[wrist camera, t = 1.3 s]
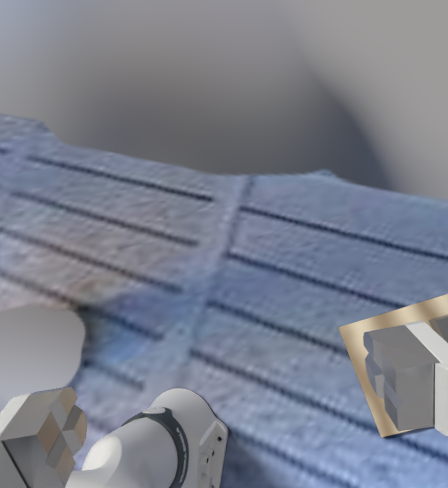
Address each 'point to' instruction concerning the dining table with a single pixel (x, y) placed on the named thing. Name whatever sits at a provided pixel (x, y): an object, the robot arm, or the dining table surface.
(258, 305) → the dining table surface
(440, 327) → the rectangular frame
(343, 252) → the dining table surface
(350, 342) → the birch board
